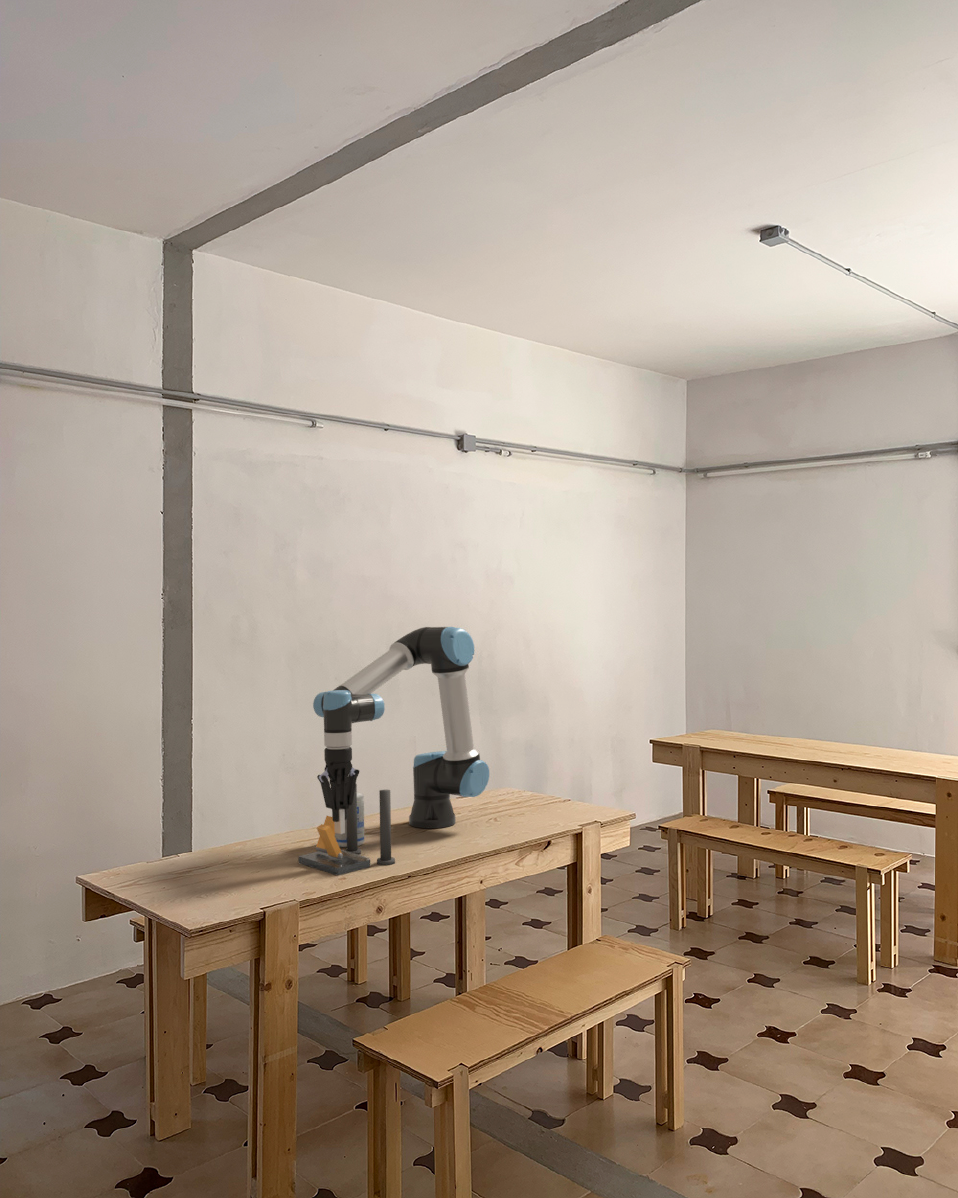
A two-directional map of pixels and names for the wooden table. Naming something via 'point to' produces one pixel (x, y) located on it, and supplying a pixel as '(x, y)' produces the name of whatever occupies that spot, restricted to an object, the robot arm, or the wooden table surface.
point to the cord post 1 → (352, 826)
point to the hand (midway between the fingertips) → (339, 832)
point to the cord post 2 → (385, 829)
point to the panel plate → (335, 862)
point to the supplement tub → (342, 838)
